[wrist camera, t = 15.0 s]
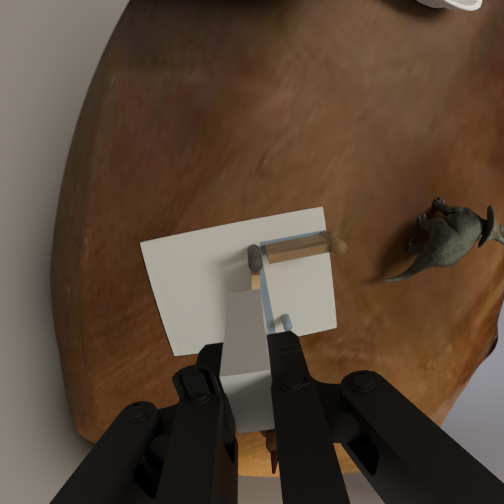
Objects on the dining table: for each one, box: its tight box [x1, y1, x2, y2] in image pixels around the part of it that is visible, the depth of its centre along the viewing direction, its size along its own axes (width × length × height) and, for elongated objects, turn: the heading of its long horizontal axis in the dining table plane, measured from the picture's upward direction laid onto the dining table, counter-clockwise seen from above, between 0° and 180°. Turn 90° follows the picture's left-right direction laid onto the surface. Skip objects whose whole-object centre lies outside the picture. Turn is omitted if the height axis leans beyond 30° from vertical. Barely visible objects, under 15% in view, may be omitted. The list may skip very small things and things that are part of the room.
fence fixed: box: [248, 231, 347, 272], centre depth 36 cm, size 2×11×8 cm, turn 101°
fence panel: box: [251, 271, 261, 292], centre depth 38 cm, size 12×1×6 cm, turn 2°
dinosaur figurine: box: [385, 197, 504, 282], centre depth 34 cm, size 22×8×11 cm, turn 110°
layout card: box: [140, 207, 337, 356], centre depth 39 cm, size 18×25×3 cm
